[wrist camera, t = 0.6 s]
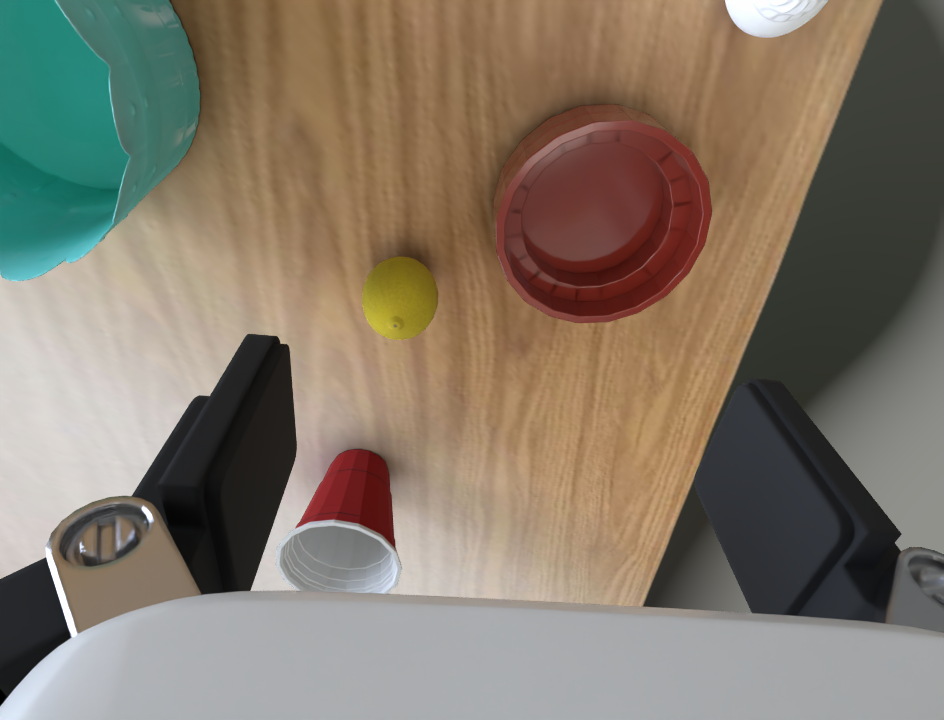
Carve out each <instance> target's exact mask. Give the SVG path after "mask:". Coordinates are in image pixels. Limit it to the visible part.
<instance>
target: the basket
mask: <svg viewBox="0 0 944 720" xmlns="http://www.w3.org/2000/svg"><path fill="white" fill-rule="evenodd" d="M199 85H200V84H199V78H198V75H197V67H196V63H195V61H194V59H193V52H192V49H191V47H190V45H189V43H188V37H187V35H186V33H185V31H184V29H183V28H182V26H181V22H180V19H179V18H178V16H177V14H176V13H175V12H174V10H173V7H172V5H171V3H170V1H169V0H0V274H1V276H2V277H3V278H5V279H7V280H10V281H24V280H29V279H33V278H35V277H38V276H41V275H43V274H45V273H47V272H48V271H50V270H52V269H53V268H55V267H56V266H58V265H59V264H61V263H62V262H63V261H66V262H68V263H72V262H74V261H77V260H79V259H81V258H82V257H84V256H85V255H86V254H87V253H89V252H90V251H91V250H92V249H93V248H94V247H95V246H96V245H97V244H98V243H99V242H101V241H102V240H103V239H104V238H105V236H106V234H107V233H108V232H110V231H111V230H112V229H113V228H114V227H115V226H116V225H117V224H118V223H119V222H120V221H121V220H124V219H125V218H126V217H127V214H128V213H129V212H130V211H131V210H132V209H133V208H134V207H135V206H136V205H137V204H138V203H139V202H140V201H141V200H142V199H143V198H144V197H145V196H146V195H147V194H148V193H149V192H150V191H151V190H152V189H153V188H154V187H155V186H157V185H158V184H159V183H160V182H161V181H162V180H163V179H164V178H165V177H166V176H167V175H168V174H169V173H170V172H171V171H172V170H173V169H174V168H175V167H176V166H177V165H178V164H179V163H180V161H181V159H182V158H183V157H184V156H185V155H186V153H187V150H188V149H189V148H190V146H191V144H192V139H193V138H194V136H195V133H196V127H197V125H198V121H199V119H198V117H199V116H198V115H199V113H200V102H199V101H200V98H201V97H200V91H199Z"/></svg>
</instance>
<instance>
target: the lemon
mask: <svg viewBox="0 0 944 720" xmlns="http://www.w3.org/2000/svg"><path fill="white" fill-rule="evenodd" d="M362 304H363V309H364V314H365V317H366V319H367V321H368V323H369V324H370V326H371V327H372V328H373V329H374V330H375V331H376V332H378V333H379V334H380V335H382V336H384V337H386V338H389V339H394V340H404V339H409V338H412V337H414V336H417V335H418V334H420V333H421V332H422V331H423V330H425V329H426V327H427V326H428V325H429V323H430V322H431V320H432V319H433V317H434V314H435V311H436V308H437V305H438V290H437V285H436V281H435V279H434V277H433V276H432V274H431V272H430V271H429V270H428V269H427V268H426V267H425V265H423V264H422V263H420V262H419V261H417V260H415V259H412V258H409V257H402V256H400V257H392V258H389V259H387V260H384V261H382V262H381V263H380V264H378V265H377V266H376V267H375V268H374V269H373V270H372V271H371V273H370V274H369V275H368V277H367V280H366V282H365V284H364V287H363V295H362Z"/></svg>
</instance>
